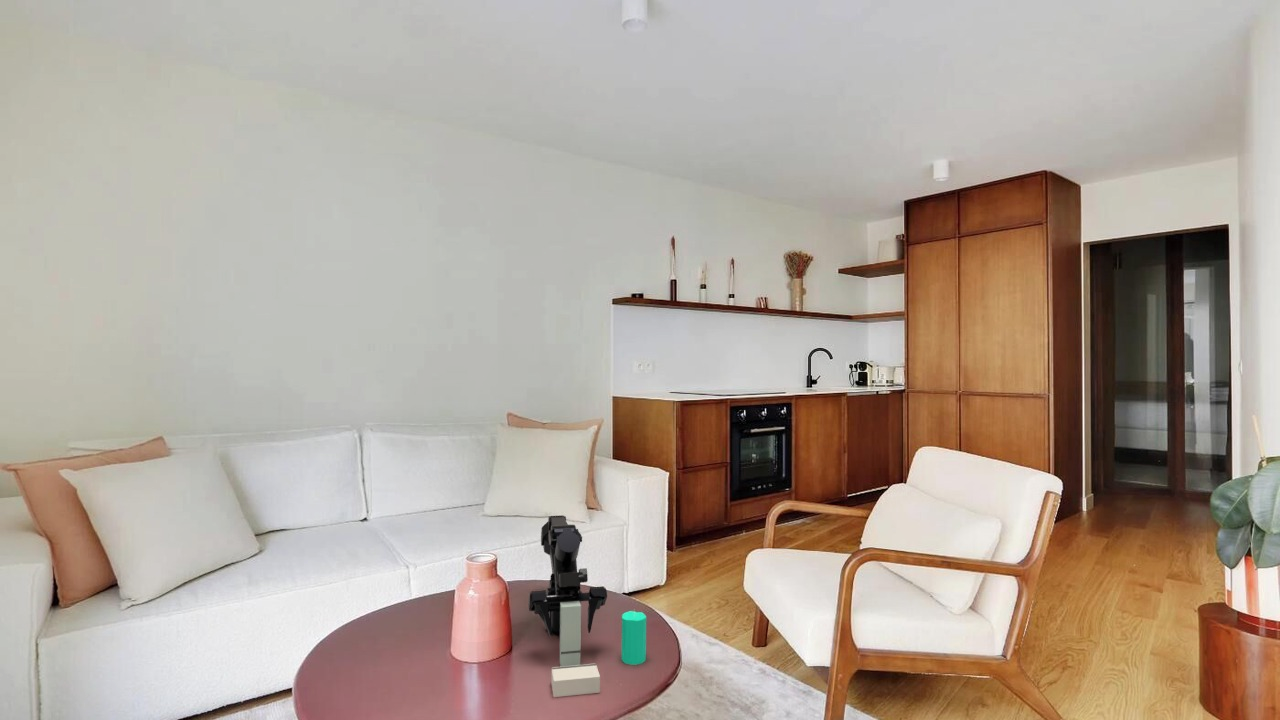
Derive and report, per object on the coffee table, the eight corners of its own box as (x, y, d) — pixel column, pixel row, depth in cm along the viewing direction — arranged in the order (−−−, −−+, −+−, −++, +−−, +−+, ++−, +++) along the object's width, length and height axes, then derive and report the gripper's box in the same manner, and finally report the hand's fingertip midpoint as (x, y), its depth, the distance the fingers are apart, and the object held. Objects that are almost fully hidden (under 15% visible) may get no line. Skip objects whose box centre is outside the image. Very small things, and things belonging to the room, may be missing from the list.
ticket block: (551, 683, 145) (551, 667, 145) (595, 678, 147) (595, 663, 147) (553, 697, 139) (553, 680, 139) (599, 692, 141) (600, 676, 141)
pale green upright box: (559, 660, 155) (560, 602, 154) (578, 658, 156) (579, 600, 155) (560, 666, 152) (561, 607, 151) (580, 664, 153) (581, 605, 152)
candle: (643, 666, 153) (644, 615, 153) (618, 663, 154) (619, 613, 154) (648, 654, 159) (648, 605, 159) (624, 651, 160) (625, 603, 160)
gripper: (529, 558, 156) (531, 623, 145) (606, 554, 160) (613, 617, 150) (527, 579, 164) (529, 642, 153) (600, 574, 168) (607, 635, 157)
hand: (570, 633), depth 153 cm, fingers open, 9 cm apart
